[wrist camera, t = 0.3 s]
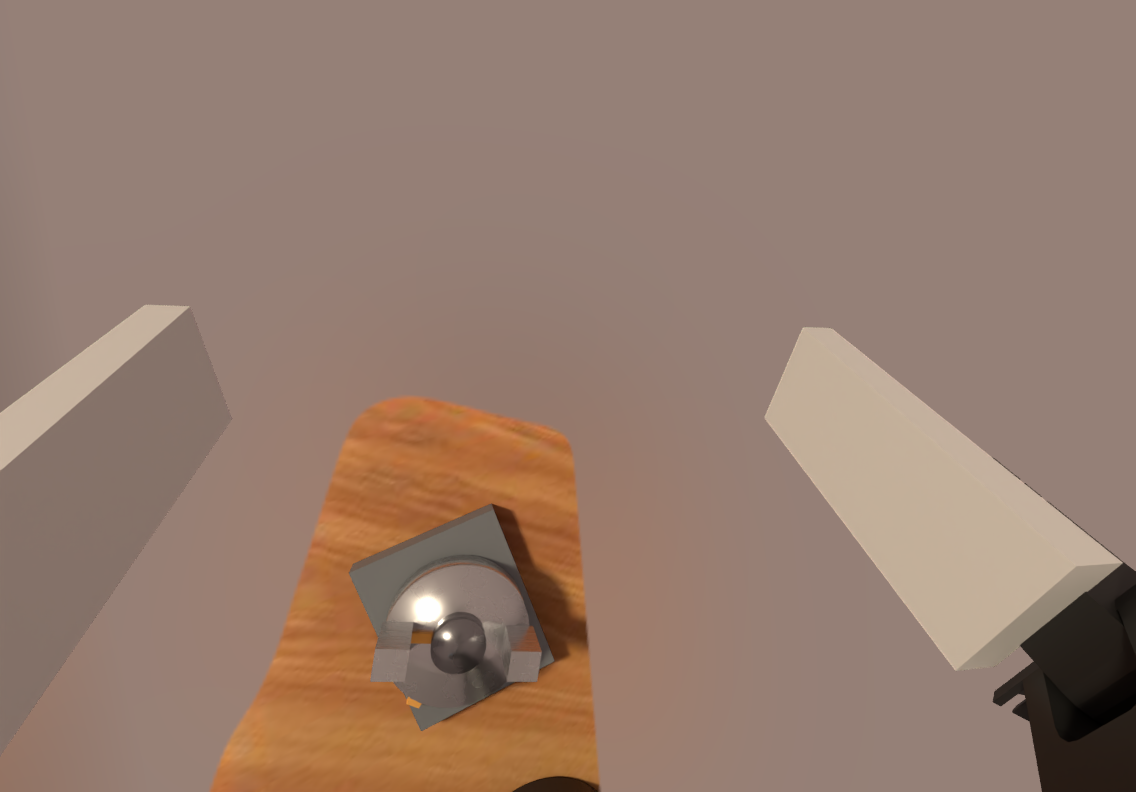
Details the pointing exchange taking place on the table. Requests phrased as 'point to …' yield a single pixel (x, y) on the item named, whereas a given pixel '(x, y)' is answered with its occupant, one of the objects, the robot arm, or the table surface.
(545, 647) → the gray square base plate
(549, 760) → the table surface
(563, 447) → the table surface
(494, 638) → the silver metal dome
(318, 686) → the table surface
